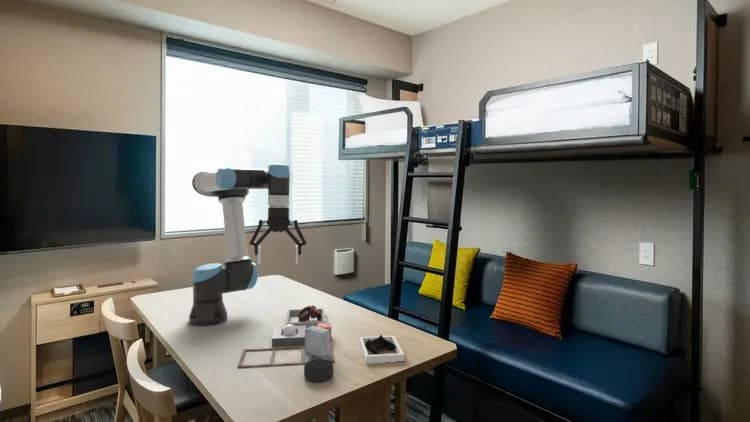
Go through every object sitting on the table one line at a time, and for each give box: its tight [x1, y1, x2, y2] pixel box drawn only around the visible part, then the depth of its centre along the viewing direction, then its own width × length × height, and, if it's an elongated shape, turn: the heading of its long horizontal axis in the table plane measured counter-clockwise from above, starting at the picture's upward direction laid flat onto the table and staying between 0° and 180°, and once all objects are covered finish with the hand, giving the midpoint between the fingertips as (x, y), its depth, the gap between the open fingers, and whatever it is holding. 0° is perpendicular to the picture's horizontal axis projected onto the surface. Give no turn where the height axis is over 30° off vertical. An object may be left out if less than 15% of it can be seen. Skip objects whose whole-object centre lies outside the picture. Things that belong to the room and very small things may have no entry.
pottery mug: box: [297, 305, 322, 322], centre depth 177 cm, size 12×10×8 cm
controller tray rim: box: [358, 335, 405, 365], centre depth 147 cm, size 13×17×2 cm
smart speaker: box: [303, 359, 334, 383], centre depth 129 cm, size 9×9×4 cm
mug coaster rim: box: [285, 307, 327, 329], centre depth 178 cm, size 16×18×2 cm
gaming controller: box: [365, 334, 395, 355], centre depth 147 cm, size 11×4×7 cm
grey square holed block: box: [271, 326, 306, 348], centre depth 158 cm, size 12×12×3 cm
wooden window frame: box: [237, 344, 336, 369], centre depth 143 cm, size 31×14×1 cm, turn 99°
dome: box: [283, 324, 296, 335], centre depth 157 cm, size 5×5×6 cm
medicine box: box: [304, 326, 331, 358], centre depth 144 cm, size 8×4×9 cm, turn 57°
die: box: [318, 321, 332, 341], centre depth 160 cm, size 5×5×6 cm
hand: (278, 263), depth 155 cm, fingers open, 13 cm apart
